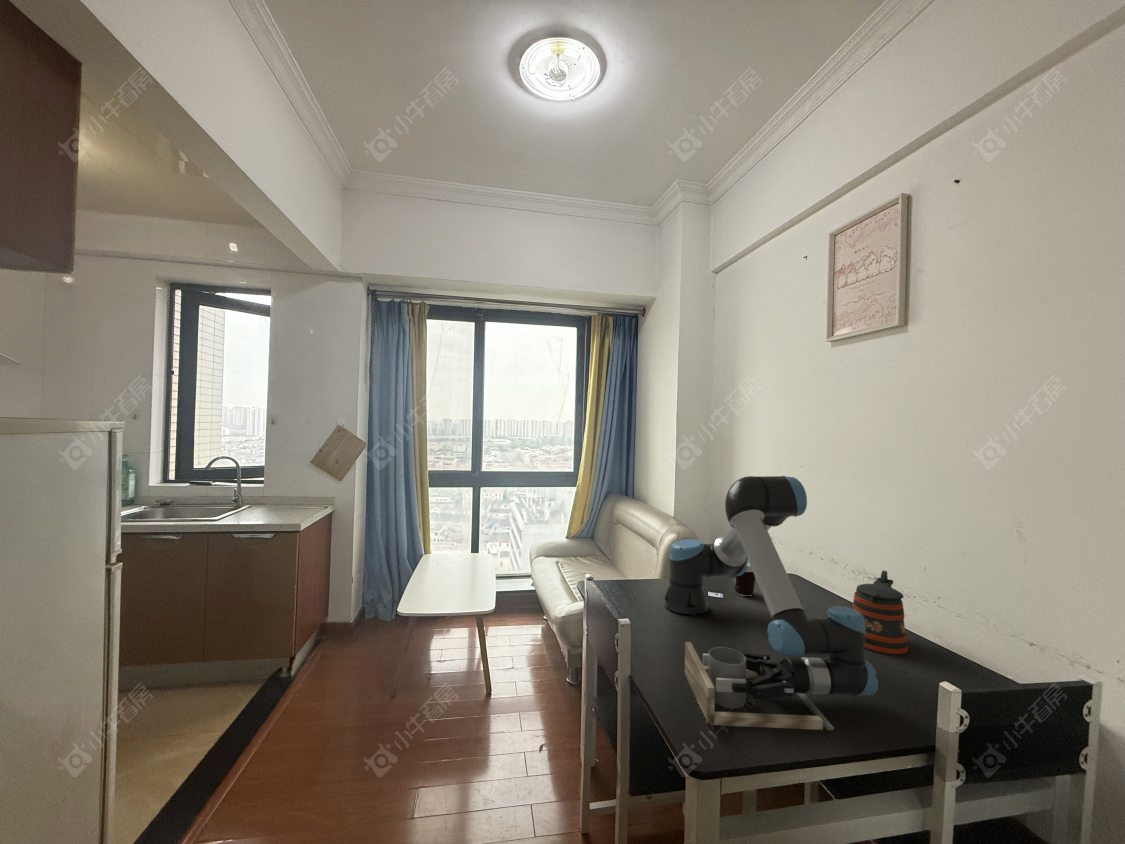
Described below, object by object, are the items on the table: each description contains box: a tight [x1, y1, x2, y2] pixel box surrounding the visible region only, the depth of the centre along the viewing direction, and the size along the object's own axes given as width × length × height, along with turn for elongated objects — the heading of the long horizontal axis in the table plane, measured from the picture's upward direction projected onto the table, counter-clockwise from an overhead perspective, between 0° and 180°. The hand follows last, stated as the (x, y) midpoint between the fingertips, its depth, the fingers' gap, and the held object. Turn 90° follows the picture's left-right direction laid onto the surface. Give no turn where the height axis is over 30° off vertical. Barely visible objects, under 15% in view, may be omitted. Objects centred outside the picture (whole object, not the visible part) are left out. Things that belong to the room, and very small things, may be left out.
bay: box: [684, 641, 835, 731], centre depth 108 cm, size 27×21×8 cm
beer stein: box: [852, 570, 909, 656], centre depth 140 cm, size 19×15×20 cm
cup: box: [708, 646, 747, 710], centre depth 108 cm, size 8×8×10 cm
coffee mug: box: [733, 565, 756, 596], centre depth 179 cm, size 12×9×10 cm
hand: (709, 671), depth 109 cm, fingers open, 10 cm apart
